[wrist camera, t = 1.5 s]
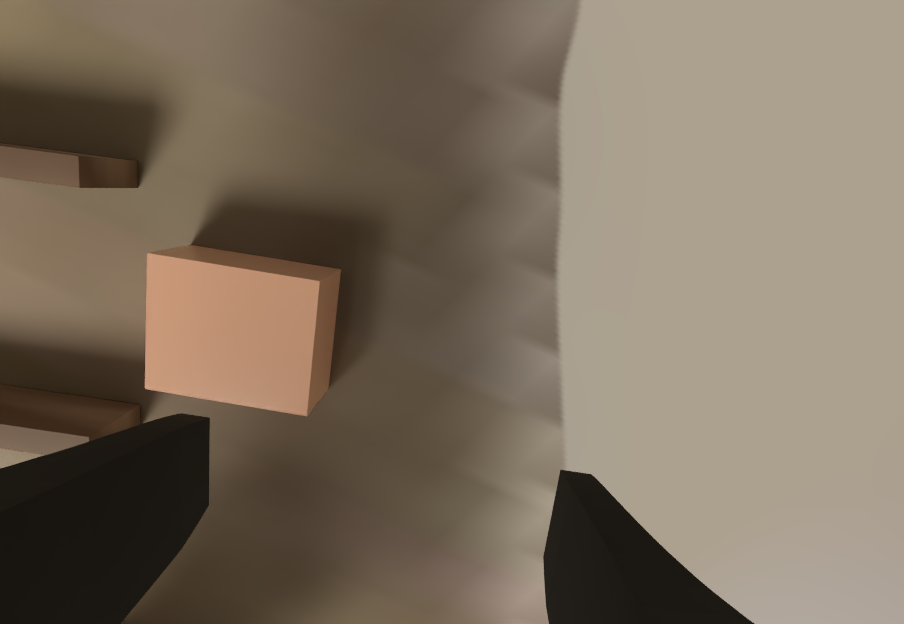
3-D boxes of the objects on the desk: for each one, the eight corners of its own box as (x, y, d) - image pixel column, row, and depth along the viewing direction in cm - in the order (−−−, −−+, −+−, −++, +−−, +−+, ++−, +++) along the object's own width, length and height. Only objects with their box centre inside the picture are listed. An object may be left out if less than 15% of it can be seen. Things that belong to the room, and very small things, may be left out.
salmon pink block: (330, 386, 22) (306, 416, 19) (189, 362, 22) (145, 388, 19) (342, 268, 21) (319, 281, 18) (194, 244, 21) (147, 253, 18)
